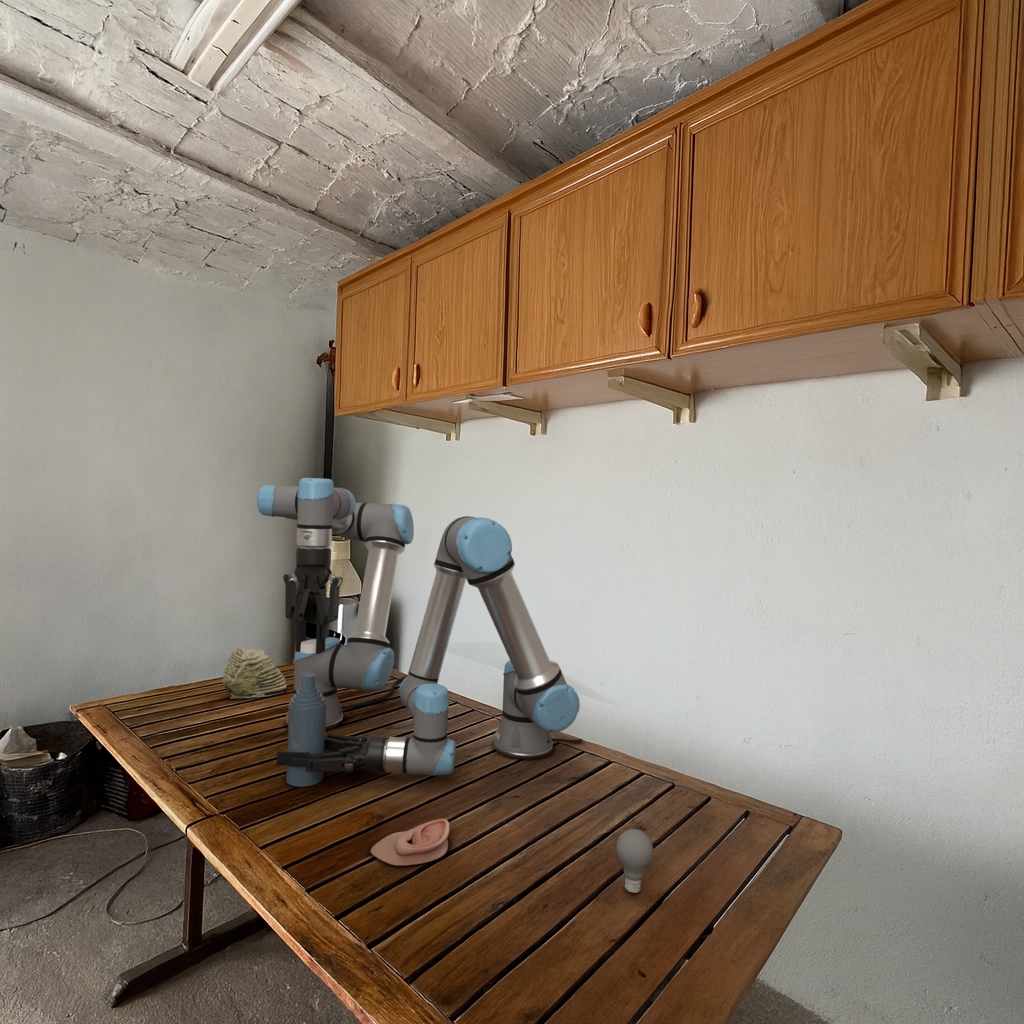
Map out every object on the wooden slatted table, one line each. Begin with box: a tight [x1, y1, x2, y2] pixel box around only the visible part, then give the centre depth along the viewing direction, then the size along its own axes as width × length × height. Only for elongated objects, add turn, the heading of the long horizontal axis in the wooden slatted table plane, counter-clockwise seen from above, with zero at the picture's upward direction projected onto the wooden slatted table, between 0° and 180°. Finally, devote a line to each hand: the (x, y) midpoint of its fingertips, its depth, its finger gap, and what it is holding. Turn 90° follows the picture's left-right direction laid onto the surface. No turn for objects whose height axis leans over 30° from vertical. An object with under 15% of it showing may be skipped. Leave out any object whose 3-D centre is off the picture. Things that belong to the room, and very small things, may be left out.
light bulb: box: [615, 828, 654, 894], centre depth 106 cm, size 6×6×10 cm
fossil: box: [222, 646, 288, 699], centre depth 198 cm, size 9×18×15 cm, turn 132°
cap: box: [300, 639, 316, 654], centre depth 142 cm, size 4×4×2 cm
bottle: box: [285, 673, 326, 788], centre depth 142 cm, size 8×8×23 cm
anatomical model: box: [370, 818, 450, 867], centre depth 115 cm, size 13×4×12 cm
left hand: (310, 651), depth 142 cm, fingers closed on cap, 4 cm apart
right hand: (284, 750), depth 142 cm, fingers closed on bottle, 8 cm apart
